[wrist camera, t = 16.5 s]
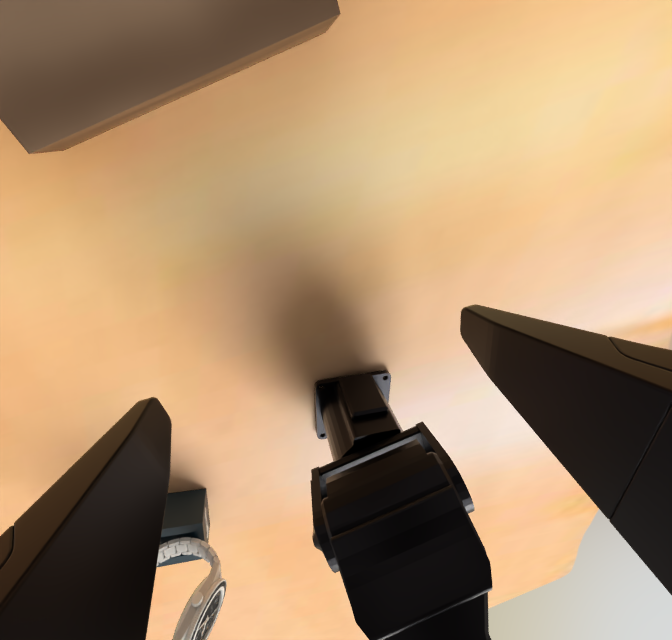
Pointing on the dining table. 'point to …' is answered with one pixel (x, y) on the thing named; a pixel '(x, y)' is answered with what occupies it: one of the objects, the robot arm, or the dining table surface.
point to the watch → (187, 545)
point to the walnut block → (131, 57)
